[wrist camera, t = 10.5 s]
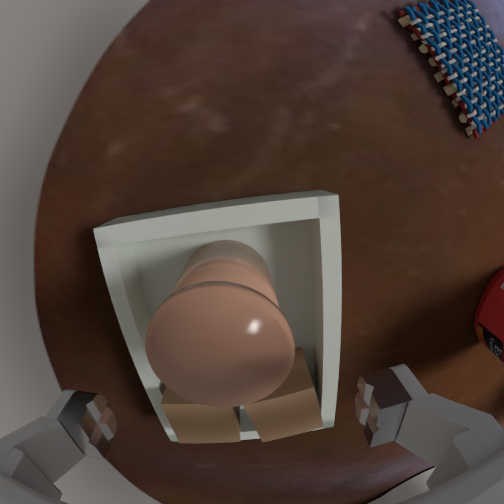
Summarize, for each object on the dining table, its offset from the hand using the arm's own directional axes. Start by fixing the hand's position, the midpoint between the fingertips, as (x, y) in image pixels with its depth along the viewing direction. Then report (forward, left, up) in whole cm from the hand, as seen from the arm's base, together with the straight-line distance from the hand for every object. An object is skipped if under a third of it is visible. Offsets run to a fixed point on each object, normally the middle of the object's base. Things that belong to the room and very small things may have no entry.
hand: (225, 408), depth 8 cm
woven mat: (+15, -20, -11) cm, 27 cm away
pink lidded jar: (0, 0, -9) cm, 9 cm away
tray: (-3, 0, -10) cm, 10 cm away
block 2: (-7, -2, -9) cm, 12 cm away
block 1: (-7, +3, -9) cm, 12 cm away
